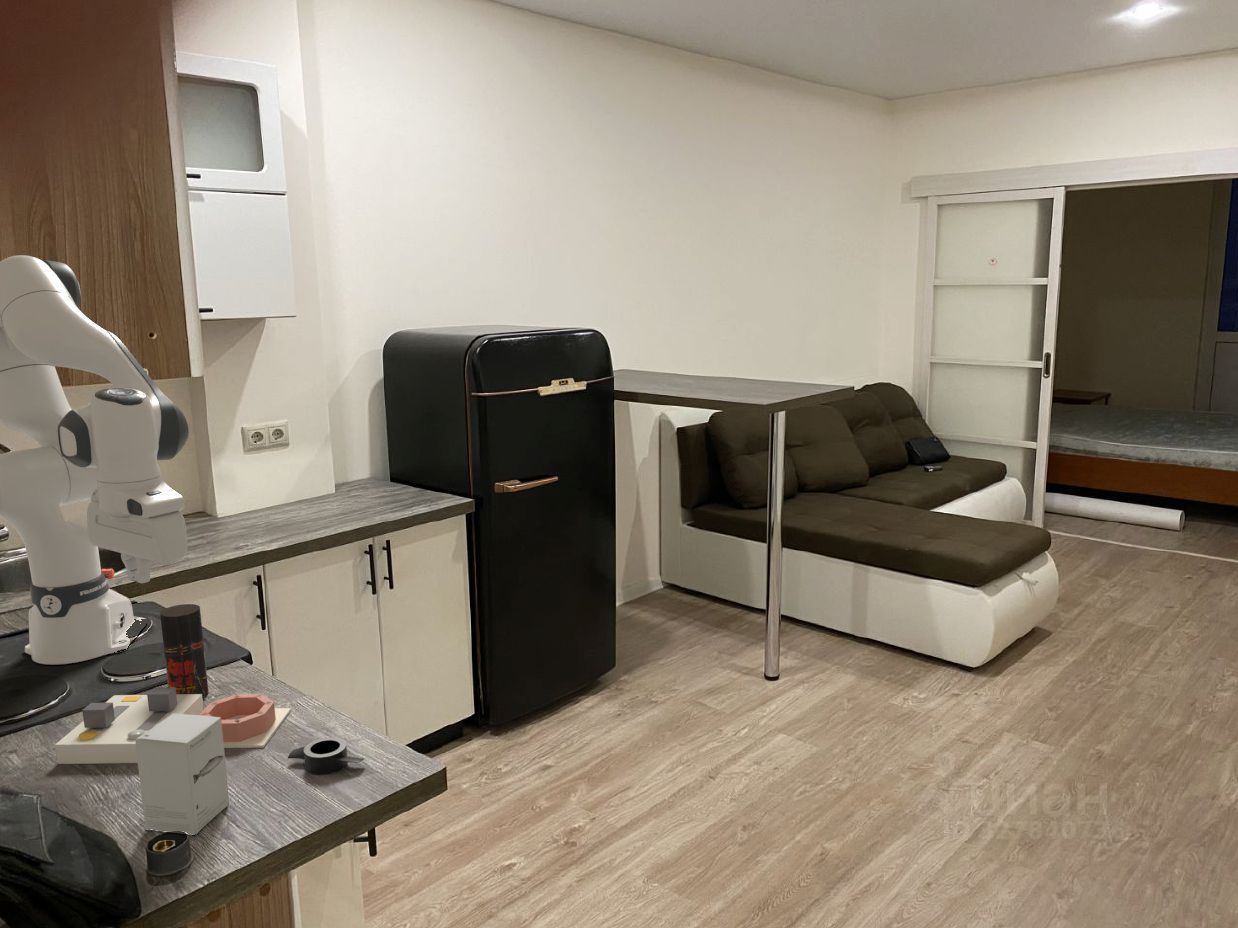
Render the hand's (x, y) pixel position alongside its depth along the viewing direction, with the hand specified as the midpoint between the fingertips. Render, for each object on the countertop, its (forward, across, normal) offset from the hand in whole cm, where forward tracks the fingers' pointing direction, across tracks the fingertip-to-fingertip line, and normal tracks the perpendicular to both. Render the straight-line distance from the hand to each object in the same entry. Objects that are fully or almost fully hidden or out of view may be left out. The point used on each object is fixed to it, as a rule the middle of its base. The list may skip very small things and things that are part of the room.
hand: (139, 581), depth 144 cm
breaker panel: (+22, +6, -7) cm, 23 cm away
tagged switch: (+18, +4, -11) cm, 22 cm away
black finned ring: (+21, +38, +2) cm, 43 cm away
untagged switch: (+18, +7, -3) cm, 20 cm away
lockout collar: (+21, +18, +3) cm, 28 cm away
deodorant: (+22, 0, +6) cm, 23 cm away
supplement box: (+21, +32, -17) cm, 42 cm away
